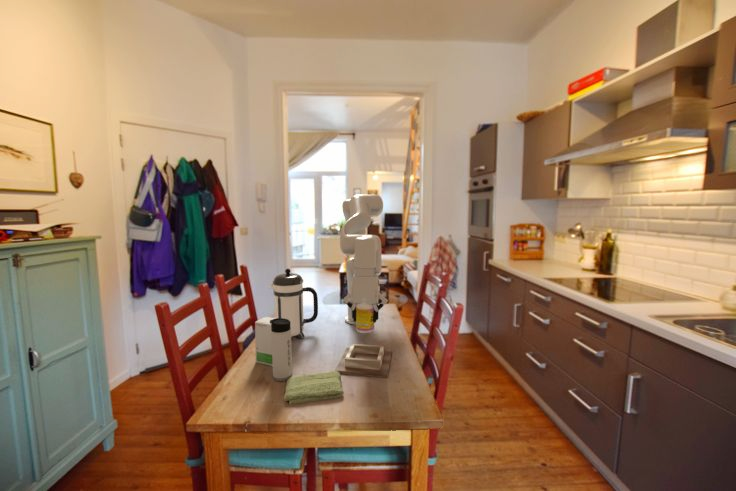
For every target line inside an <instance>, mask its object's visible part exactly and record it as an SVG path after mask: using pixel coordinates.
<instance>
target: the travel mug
mask: <svg viewBox="0 0 736 491" xmlns="http://www.w3.org/2000/svg"><path fill="white" fill-rule="evenodd" d="M270 324H271V338H272V362H273V366H272V379H273V380H274V381H277V382H284V381H288V379H289V378H291V377H293V359H292V358H293V355H292V354H293V351H292V337H291V327H290V321H289V320H288V319H284V318H276V319H273V320H270Z"/></svg>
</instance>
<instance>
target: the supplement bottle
mask: <svg viewBox="0 0 736 491" xmlns="http://www.w3.org/2000/svg"><path fill="white" fill-rule="evenodd" d="M362 301H364V302H363V303H361V304H357V305H356V324H355V330H356V331H357V332H358V333H359V334H360V333H361V334H370V333H373V332H374V331H375V323H374V310H375V309H374V307H373V305H372V304H366V303H365V302H366V299H365V298H363V299H362Z"/></svg>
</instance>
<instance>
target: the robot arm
mask: <svg viewBox="0 0 736 491" xmlns="http://www.w3.org/2000/svg"><path fill="white" fill-rule="evenodd" d="M383 201H384V200H383V199H382V197H381V196H380V195H379V194H366V193H365V194H354V195H353V196H351V198H348V199H345V200H343V202H342V213H343V216H344V219H345V222H344V223H343V224H342V226H341V227H340V231H339V247H340V251H341V253H343V254H344V255H347V256H348V255H349V256H353V255H354V257H351V258H348V259H347V260H346V262H345V273H346V279H347V294H346V296H344V297H343V300H342V301H343V302H344V303H345V304H346V305H347V315H346V316H345V317H344V321H345V322H346V323H347V324H350V325H356V305H357V304H361V303H363V302H364V301H362V299H363V298H365V299H366V302H365V303H366V304H372V305H373V307H374V324H375V323H376V322H377V321H379V311H380V310H381V309H382V308H383V307H384V306H385V305H386V304H387V302H388V299H387V298H386V297H385V296H384V295H383V294H382V293H380V292H381V291H380V288H381V286H380V279H379V276H380V275H381V274H382V269H383V268H382V265H383V264H382V241H381V238H380V236H378V235H376V234H367V233H366V230H367V228H368V227H369V226H370V225H371V223H372V218H375V217H376V218H377V217H379V216H380V215H381V214H382V213H383V211H384V210H383V209H384V202H383ZM380 300H381V302H380V303H379V301H380Z"/></svg>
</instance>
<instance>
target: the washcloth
mask: <svg viewBox="0 0 736 491" xmlns="http://www.w3.org/2000/svg"><path fill="white" fill-rule="evenodd" d="M341 382H342V376H341V374H340V373H339V372H338V371H335V370H331V371H327V372H318V373H311V374H303V375H302V374H301V375H294V376H292V377H291V378H289V379H288V380H286V385H285V388H284V390H285V394H284V396H283V400H284V401H287V402H288V401H289V402H288V403H289V405H297V404H302V403H303V404H304V403H309V402H310V403H311V402H317V401H326V400H330V399H340V398H341V397H343V395H344V388H343V384H342V383H341Z"/></svg>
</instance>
